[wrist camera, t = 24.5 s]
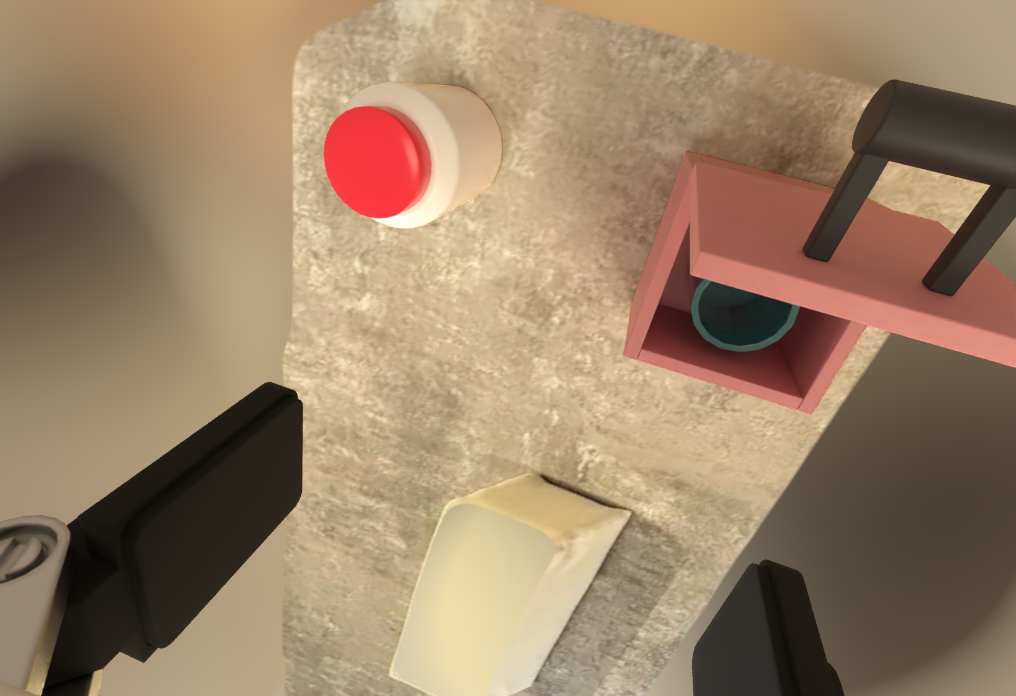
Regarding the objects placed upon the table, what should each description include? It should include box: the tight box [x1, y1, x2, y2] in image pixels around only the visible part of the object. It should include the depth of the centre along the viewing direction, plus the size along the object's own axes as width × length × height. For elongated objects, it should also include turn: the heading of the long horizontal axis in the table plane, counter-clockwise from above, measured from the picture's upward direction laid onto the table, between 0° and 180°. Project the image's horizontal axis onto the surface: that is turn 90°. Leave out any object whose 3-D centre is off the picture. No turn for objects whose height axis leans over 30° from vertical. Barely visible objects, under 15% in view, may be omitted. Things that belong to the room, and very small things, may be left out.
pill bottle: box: [324, 82, 502, 228], centre depth 31 cm, size 8×8×11 cm
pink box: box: [623, 151, 891, 415], centre depth 30 cm, size 11×11×9 cm
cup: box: [687, 262, 800, 352], centre depth 31 cm, size 5×5×6 cm
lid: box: [690, 80, 1016, 367], centre depth 17 cm, size 12×11×6 cm
